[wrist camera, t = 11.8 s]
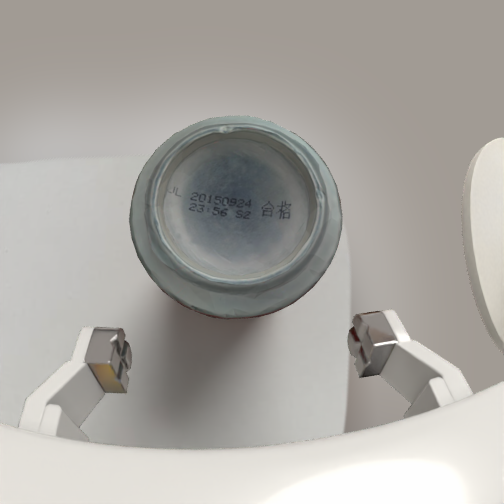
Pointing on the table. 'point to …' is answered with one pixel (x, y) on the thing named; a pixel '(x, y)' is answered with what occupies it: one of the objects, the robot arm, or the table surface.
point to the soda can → (235, 217)
